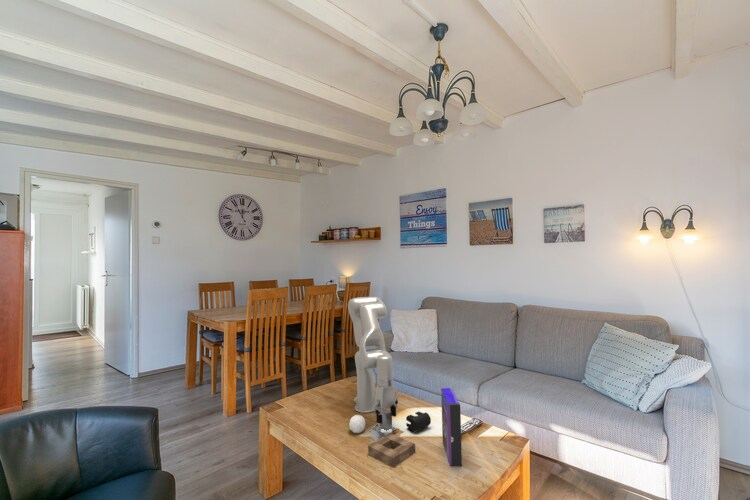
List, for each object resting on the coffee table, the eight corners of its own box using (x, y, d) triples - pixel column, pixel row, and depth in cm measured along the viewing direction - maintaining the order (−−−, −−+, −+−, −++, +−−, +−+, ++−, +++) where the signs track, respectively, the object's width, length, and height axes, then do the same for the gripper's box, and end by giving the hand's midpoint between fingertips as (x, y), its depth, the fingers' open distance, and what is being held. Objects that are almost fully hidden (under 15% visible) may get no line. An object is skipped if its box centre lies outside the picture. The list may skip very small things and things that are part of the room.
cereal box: (442, 442, 158) (441, 388, 159) (453, 442, 158) (452, 387, 158) (449, 466, 141) (448, 404, 141) (461, 466, 141) (460, 404, 141)
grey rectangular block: (380, 433, 168) (379, 411, 168) (385, 430, 171) (385, 409, 171) (386, 436, 165) (386, 414, 165) (392, 432, 168) (391, 411, 168)
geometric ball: (360, 439, 168) (362, 430, 163) (345, 431, 170) (346, 422, 166) (367, 425, 174) (369, 416, 169) (352, 417, 176) (354, 408, 172)
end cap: (416, 435, 165) (415, 420, 165) (405, 429, 171) (405, 415, 171) (431, 428, 172) (430, 414, 172) (420, 423, 177) (420, 409, 177)
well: (368, 454, 151) (368, 445, 151) (390, 440, 161) (390, 432, 161) (393, 467, 141) (393, 458, 141) (415, 452, 151) (415, 443, 151)
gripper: (391, 375, 177) (392, 411, 176) (366, 385, 164) (367, 423, 164) (403, 378, 172) (404, 415, 171) (378, 388, 159) (379, 428, 159)
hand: (386, 419), depth 167 cm, fingers open, 9 cm apart
